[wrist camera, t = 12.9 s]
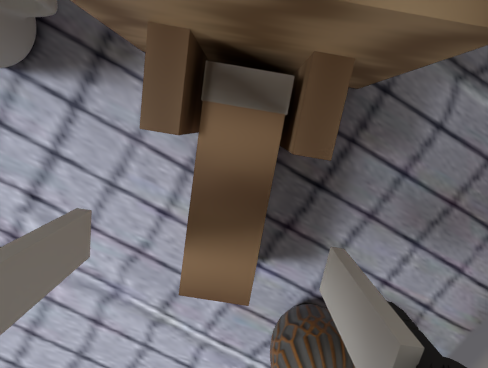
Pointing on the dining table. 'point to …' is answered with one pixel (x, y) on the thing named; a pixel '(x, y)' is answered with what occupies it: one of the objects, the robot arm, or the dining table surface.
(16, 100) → the dining table surface
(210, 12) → the headboard
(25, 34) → the cup
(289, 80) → the brown wooden block
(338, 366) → the vase
